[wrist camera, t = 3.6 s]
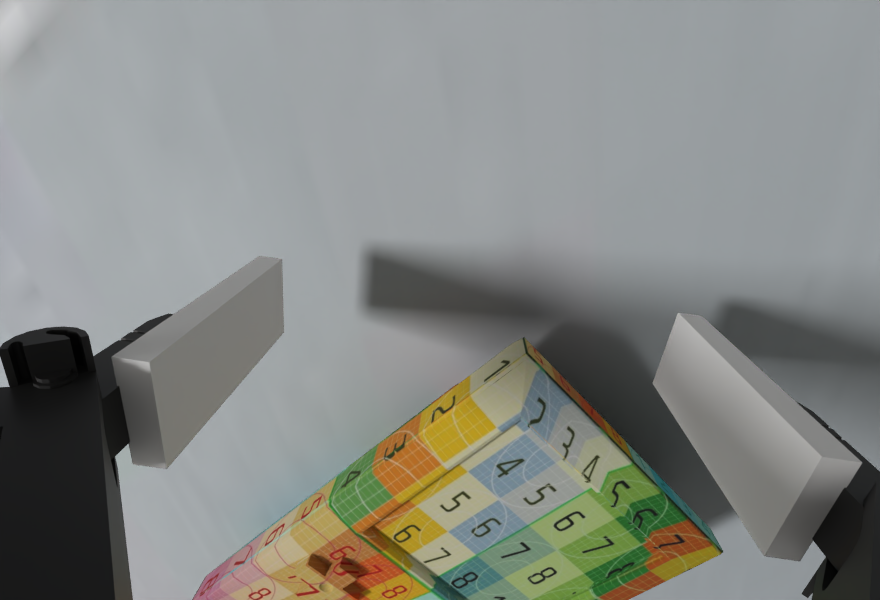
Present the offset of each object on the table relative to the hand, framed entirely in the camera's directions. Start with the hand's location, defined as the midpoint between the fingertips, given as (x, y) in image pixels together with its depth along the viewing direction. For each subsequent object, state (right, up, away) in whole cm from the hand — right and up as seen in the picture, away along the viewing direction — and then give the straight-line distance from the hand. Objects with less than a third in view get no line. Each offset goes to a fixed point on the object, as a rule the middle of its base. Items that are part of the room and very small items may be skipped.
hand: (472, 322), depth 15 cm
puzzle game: (-1, -10, +8) cm, 12 cm away
